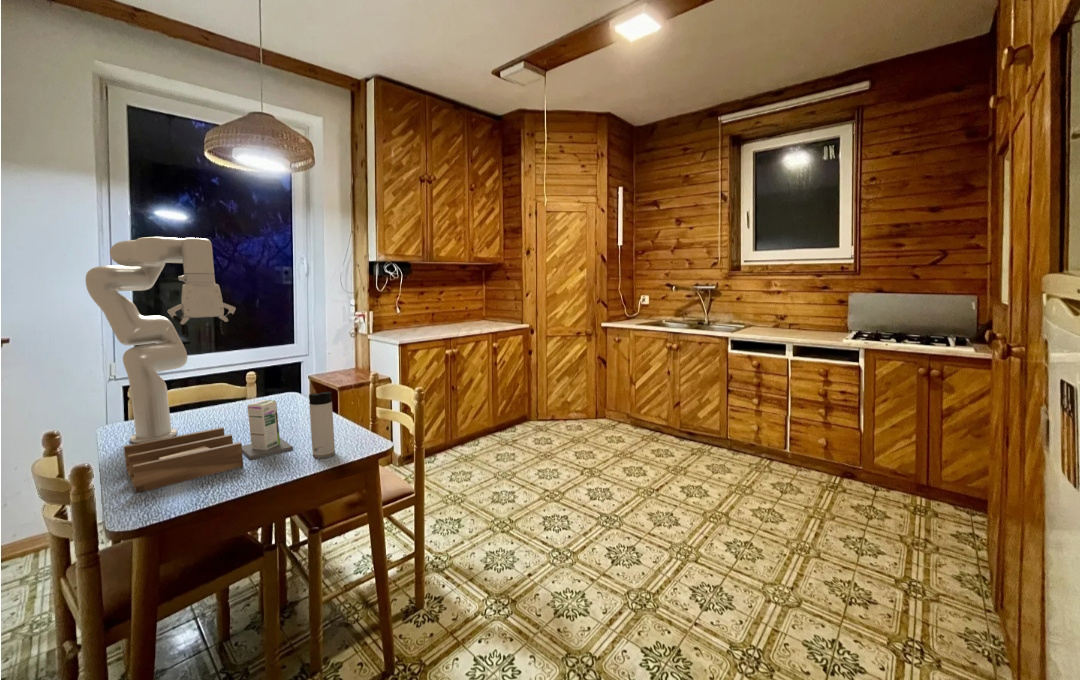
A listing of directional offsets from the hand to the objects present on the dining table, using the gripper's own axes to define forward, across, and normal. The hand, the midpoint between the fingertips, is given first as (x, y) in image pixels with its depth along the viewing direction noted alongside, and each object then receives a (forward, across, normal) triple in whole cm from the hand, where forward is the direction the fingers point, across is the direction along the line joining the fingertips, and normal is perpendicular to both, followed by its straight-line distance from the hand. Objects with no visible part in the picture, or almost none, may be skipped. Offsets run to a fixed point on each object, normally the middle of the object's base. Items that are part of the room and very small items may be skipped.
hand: (205, 335), depth 150 cm
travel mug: (+36, +22, -30) cm, 52 cm away
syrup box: (+36, +11, -12) cm, 39 cm away
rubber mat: (+36, +11, -12) cm, 40 cm away
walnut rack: (+36, -10, -12) cm, 40 cm away
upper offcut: (+34, -10, -17) cm, 39 cm away
